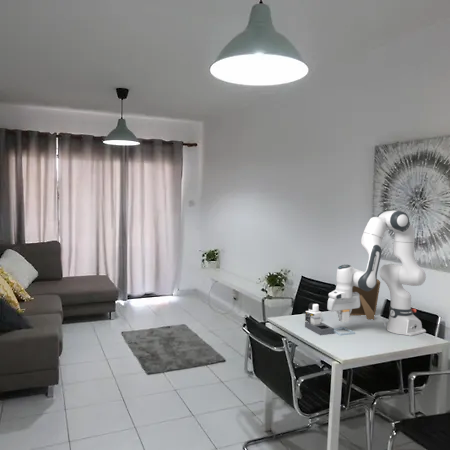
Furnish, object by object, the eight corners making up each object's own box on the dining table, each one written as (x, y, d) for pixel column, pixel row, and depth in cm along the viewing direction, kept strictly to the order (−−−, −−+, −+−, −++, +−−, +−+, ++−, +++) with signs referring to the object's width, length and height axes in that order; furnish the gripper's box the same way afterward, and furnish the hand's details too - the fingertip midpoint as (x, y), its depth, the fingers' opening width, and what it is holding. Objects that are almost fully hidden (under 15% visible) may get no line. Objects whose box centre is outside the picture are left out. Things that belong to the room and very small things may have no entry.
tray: (344, 330, 247) (344, 327, 246) (355, 335, 237) (355, 332, 237) (329, 332, 243) (329, 328, 243) (340, 337, 234) (340, 333, 234)
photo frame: (341, 313, 283) (342, 277, 281) (372, 313, 285) (374, 277, 283) (348, 320, 268) (350, 281, 266) (381, 320, 270) (383, 282, 268)
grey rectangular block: (316, 326, 249) (316, 315, 249) (320, 328, 245) (320, 317, 245) (310, 327, 248) (310, 315, 247) (314, 329, 244) (314, 317, 243)
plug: (344, 319, 243) (344, 307, 242) (349, 321, 239) (349, 309, 238) (338, 320, 242) (338, 308, 241) (343, 322, 238) (343, 310, 237)
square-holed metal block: (304, 328, 249) (305, 321, 248) (317, 327, 252) (318, 320, 252) (320, 337, 234) (320, 329, 233) (333, 335, 237) (333, 328, 237)
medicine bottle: (304, 322, 262) (305, 303, 261) (312, 320, 266) (313, 301, 265) (313, 325, 256) (314, 305, 255) (321, 323, 260) (322, 304, 260)
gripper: (355, 290, 245) (355, 313, 247) (325, 293, 238) (325, 317, 240) (362, 292, 239) (362, 316, 241) (332, 296, 232) (332, 320, 234)
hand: (343, 317), depth 240 cm, fingers closed on plug, 4 cm apart
